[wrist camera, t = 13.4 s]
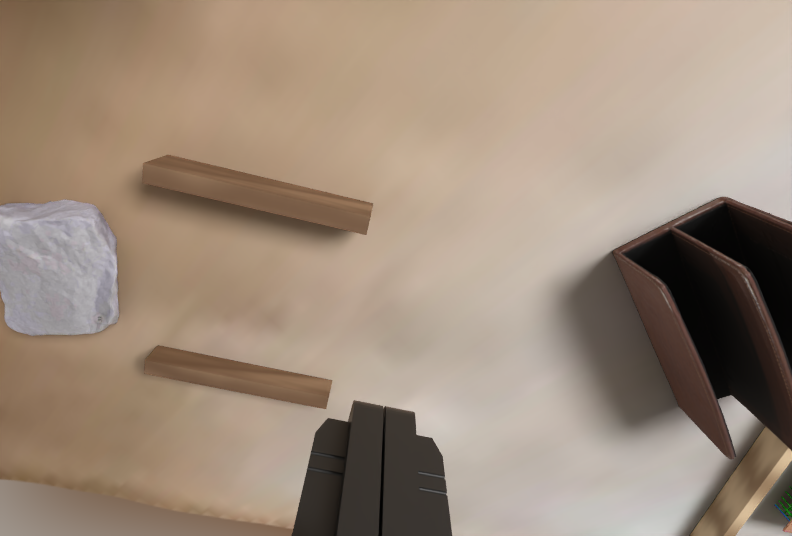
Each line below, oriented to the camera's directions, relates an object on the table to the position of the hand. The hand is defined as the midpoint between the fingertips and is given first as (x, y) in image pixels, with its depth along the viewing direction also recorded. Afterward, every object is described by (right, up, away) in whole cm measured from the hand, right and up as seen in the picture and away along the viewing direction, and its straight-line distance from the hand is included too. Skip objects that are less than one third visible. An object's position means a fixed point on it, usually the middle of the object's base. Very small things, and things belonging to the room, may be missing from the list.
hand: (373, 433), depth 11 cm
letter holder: (+29, 0, +32) cm, 43 cm away
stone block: (-28, +5, +30) cm, 41 cm away
